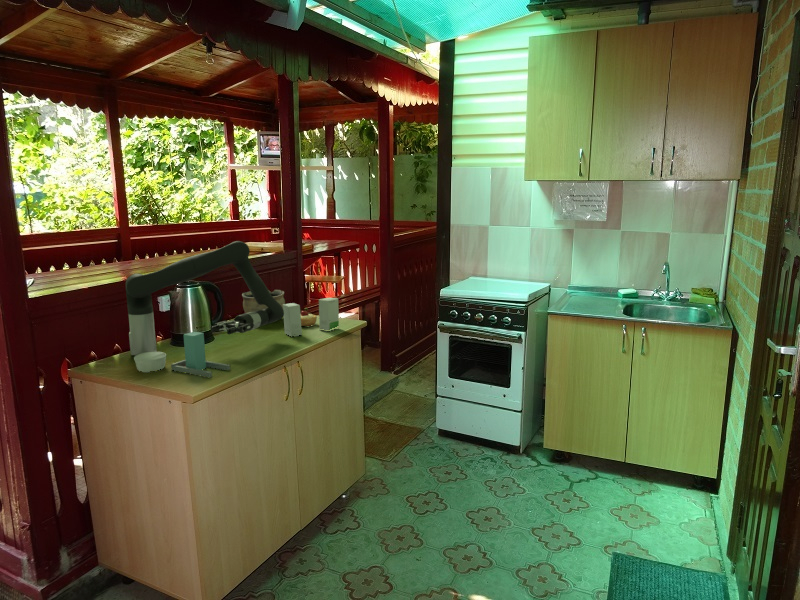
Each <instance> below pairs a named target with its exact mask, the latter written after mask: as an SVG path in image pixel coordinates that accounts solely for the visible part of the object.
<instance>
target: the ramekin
mask: <svg viewBox="0 0 800 600" xmlns="http://www.w3.org/2000/svg"><path fill="white" fill-rule="evenodd" d="M166 358H167V353H165V352H162V351H156V352H146V353H142V354H139V355H134V357H133V360H134V362H135V366H136V367H135V368H136V370H137V371H139V372H140V371H142V372H141V373H151V372H150V371H155V372H157V371H156V370H159V371H161V370H163V369H164V368H166V367H165V366H166V361H167V359H166ZM160 369H161V370H160Z"/></svg>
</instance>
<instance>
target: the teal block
mask: <svg viewBox="0 0 800 600" xmlns="http://www.w3.org/2000/svg"><path fill="white" fill-rule="evenodd" d="M204 334H205V333H204V332H201V331H200V332H199V331H191V332H188V333H185V334H183V344H184V346H183V347H184V357H185V359H184V360H186V367H188V368H194V369H199V370H202V369H204V370H206V369H207V367H206V361H207V360H206V348H205V345H206V344H205V335H204ZM205 368H206V369H205Z"/></svg>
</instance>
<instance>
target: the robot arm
mask: <svg viewBox="0 0 800 600" xmlns="http://www.w3.org/2000/svg"><path fill="white" fill-rule="evenodd" d="M250 251H251V250H250V247H249V245H248V244H247V243H245V242H244V241H240V240H236V241H235V240H234V241H232V242H231V243H229V244H226V245H224V246H223V247H221V248H218V249H217V248H216V249H215V250H212V251H207V252H206V251H205V252H202V253H198V254H195V255H191V256H188V257H185V258H182V259H179V260H177V261H175V262H173V263H171V264H169V265H167V266H165V267H163V268H162V269H159V270H157V271H153V272H149V273H146V274H142V273H133V274H131V275H130V276H128V277H127V279H126V281H125V293H126V294H125V295H126V305H127V313H128V314H127V315H128V323H129V332H128V337H129V338H128V340H129V349H130V355H131V356H136V355H139V354H142V353H146V352H158V351H157V342H156V341H157V340H156V331H155V330H156V329H155V319H154V318H155V317H154V307H153V306H154V305H153V299H152V294H153V293H155V292H157V291H160V290H162V289H164V288H167V287H171V286H174V285H178V284H181V283H184V282H188V281H191V280H194V279H196V278H197V279H198V278H199V277H202V276H204V275H207V274H209V273H211V272H213V271H214V270H217V269H219V268H221V267H223V266H228V265H230V264H233V266H234V268H236V270H237V271H238V273H239V274H240V275H241V277H242V278H243V281H244V282H245V284H246V285H247V287H248V289H249V292H250V291H251V293H252V295H253V297H254V298H255V300H256V302H257V303H258V304H259V305H266V306H267V307H268V308H266V309H264V310H258V311H254V312H249V313H245V312H244V313H242V314H239V315H236V316H235V318H234V319H233V320H229V321H227V320H223V321H219V322H215V323H214V325H212V326H211V327H210V332H211V333H215V332H218V331H225V332H226V333H227V335H232V334H234V333H236V334H238V333H241V334H243V333H247V332H249V331H252V330H255V329H257V328H259V327H263V326H266V325H270V324H272V323H275V322H277V321H280V320H282V319H284V310H283V308H282V306H281V305H280V304H279V303H278V302H277V301H276V300H275V299H274V298H273V297H272V296H271V294H270V293H269V291H270V290H269V289H268V287H267V286H266V284H265V283H264V281H263V279H262V278H261V277H260V275H259V274H258V272H256V270H255V268H254V267H253V265H252V263H251V261H250V258H249V256H250ZM268 290H269V291H268Z"/></svg>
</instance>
